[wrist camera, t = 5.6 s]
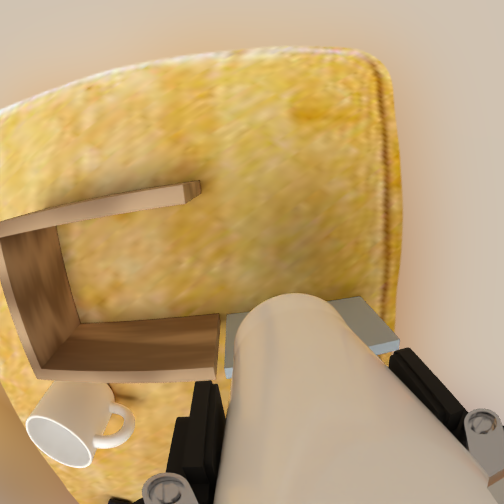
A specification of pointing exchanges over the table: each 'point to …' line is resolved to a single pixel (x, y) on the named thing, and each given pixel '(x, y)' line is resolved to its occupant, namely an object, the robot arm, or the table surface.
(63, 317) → the u-shaped wooden frame
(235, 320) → the thin blue-gray plank
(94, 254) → the table surface
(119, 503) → the book
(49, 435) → the mug
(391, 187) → the table surface
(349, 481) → the drinking glass
